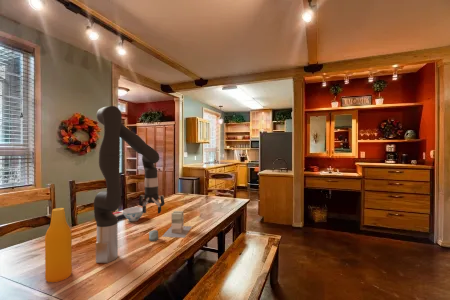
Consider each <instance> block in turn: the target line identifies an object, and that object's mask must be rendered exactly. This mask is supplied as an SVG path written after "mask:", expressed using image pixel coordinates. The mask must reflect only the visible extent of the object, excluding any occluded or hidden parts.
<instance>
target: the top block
mask: <svg viewBox="0 0 450 300" xmlns="http://www.w3.org/2000/svg"><path fill="white" fill-rule="evenodd" d="M183 221H185V219H184V210H182V211H181V210H174V211H172V212H171V224H172V223H178V224H181V223H182V222H183Z"/></svg>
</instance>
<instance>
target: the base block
mask: <svg viewBox="0 0 450 300" xmlns="http://www.w3.org/2000/svg"><path fill="white" fill-rule="evenodd" d="M184 221H185V220H184ZM184 221H183V222H182V223H181V224H178V223H172V222H171V226H172V233H181V232H182V231H183V230H184V226H185V225H184V224H185V223H184Z"/></svg>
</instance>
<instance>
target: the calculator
mask: <svg viewBox="0 0 450 300" xmlns="http://www.w3.org/2000/svg"><path fill="white" fill-rule="evenodd" d="M112 213H113V214H114V215H115V216H116V217H117V220H118V221H121V220H123V219H125V218H126V217H125V216H124V214H123V211H118V210H116V211H113V212H112ZM126 219H127V218H126Z"/></svg>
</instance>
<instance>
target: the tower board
mask: <svg viewBox="0 0 450 300" xmlns="http://www.w3.org/2000/svg"><path fill="white" fill-rule="evenodd" d="M192 227H193V226H189V225H187V226H186V225H184V230H183V231H182V232H181V233H172V225H171V226H170V227H169V228H168V229H167V230H166V231H165V232H164V234H163V235H162V236H161V238H162V237H163V238H183V239H184V238H186V236H187V234H188V233H189V232H190V230H191V229H192Z"/></svg>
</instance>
